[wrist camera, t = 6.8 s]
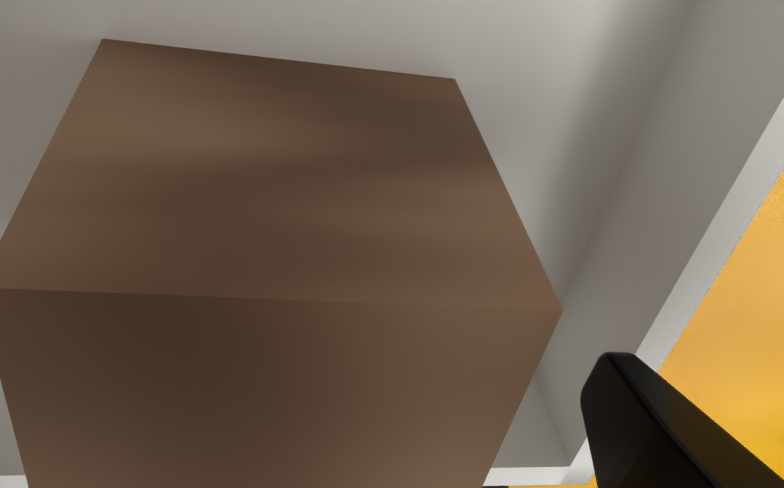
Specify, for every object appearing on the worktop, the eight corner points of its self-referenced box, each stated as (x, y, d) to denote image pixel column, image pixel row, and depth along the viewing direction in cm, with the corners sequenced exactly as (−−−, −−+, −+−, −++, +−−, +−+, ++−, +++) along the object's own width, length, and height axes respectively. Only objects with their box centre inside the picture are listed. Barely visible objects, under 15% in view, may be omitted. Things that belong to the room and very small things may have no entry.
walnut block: (454, 78, 10) (563, 310, 6) (395, 314, 13) (444, 569, 9) (101, 38, 9) (-24, 287, 5) (124, 305, 12) (54, 587, 8)
